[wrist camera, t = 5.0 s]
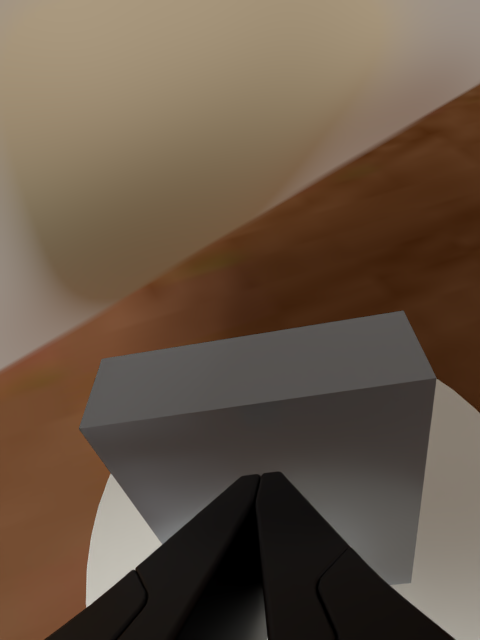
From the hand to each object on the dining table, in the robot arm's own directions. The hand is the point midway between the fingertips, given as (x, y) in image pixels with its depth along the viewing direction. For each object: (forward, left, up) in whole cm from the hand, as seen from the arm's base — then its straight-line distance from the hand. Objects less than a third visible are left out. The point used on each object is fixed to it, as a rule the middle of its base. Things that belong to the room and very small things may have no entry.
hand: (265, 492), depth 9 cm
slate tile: (-1, +1, -8) cm, 9 cm away
